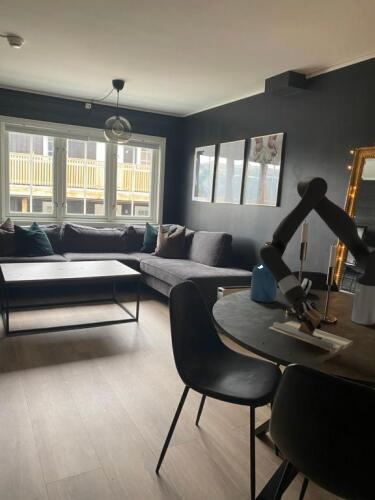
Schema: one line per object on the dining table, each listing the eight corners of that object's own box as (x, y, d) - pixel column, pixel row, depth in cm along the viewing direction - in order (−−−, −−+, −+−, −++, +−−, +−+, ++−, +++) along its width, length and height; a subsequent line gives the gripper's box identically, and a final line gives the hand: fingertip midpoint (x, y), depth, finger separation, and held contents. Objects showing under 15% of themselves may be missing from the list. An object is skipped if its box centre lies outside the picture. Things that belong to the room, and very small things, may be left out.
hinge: (296, 290, 222) (303, 275, 219) (303, 293, 221) (311, 278, 218) (295, 296, 206) (303, 280, 204) (303, 300, 205) (312, 284, 203)
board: (291, 324, 159) (292, 320, 159) (352, 345, 140) (353, 341, 139) (267, 331, 149) (268, 327, 148) (330, 354, 129) (330, 350, 129)
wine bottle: (281, 302, 193) (287, 243, 189) (261, 304, 186) (267, 243, 182) (262, 295, 204) (268, 239, 200) (243, 297, 197) (248, 239, 193)
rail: (275, 326, 150) (275, 321, 150) (334, 347, 132) (335, 342, 132) (272, 327, 149) (273, 321, 149) (332, 348, 131) (333, 343, 130)
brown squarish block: (304, 328, 146) (314, 309, 142) (312, 335, 143) (323, 315, 140) (297, 330, 143) (308, 310, 140) (306, 337, 141) (316, 317, 137)
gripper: (287, 286, 140) (313, 328, 133) (308, 282, 149) (334, 321, 142) (274, 297, 145) (298, 338, 137) (295, 292, 154) (319, 330, 147)
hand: (316, 329), depth 140 cm, fingers closed on brown squarish block, 4 cm apart
